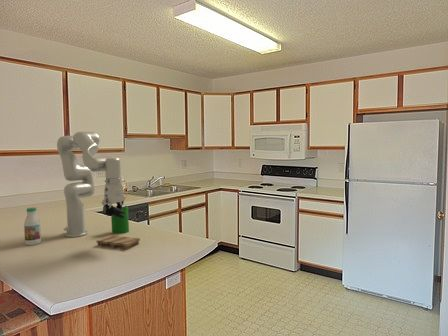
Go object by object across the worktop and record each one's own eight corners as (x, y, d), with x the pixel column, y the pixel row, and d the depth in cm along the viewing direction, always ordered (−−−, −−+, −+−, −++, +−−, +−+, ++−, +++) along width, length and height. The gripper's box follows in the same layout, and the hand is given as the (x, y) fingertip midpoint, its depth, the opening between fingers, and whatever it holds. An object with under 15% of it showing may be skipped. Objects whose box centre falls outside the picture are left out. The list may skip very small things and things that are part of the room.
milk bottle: (26, 242, 184) (24, 207, 182) (42, 240, 186) (40, 206, 185) (23, 246, 176) (21, 209, 175) (39, 244, 179) (38, 208, 178)
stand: (96, 245, 176) (96, 240, 175) (110, 240, 186) (110, 235, 186) (127, 249, 169) (127, 244, 168) (140, 243, 179) (139, 238, 179)
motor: (124, 229, 211) (123, 198, 209) (132, 231, 205) (131, 199, 204) (109, 232, 203) (108, 200, 201) (117, 234, 197) (116, 202, 196)
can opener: (99, 215, 176) (99, 204, 176) (111, 213, 182) (111, 203, 181) (118, 219, 165) (117, 209, 164) (129, 217, 170) (129, 207, 170)
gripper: (105, 183, 164) (106, 218, 165) (130, 179, 179) (131, 212, 180) (95, 182, 167) (96, 217, 168) (120, 179, 182) (121, 210, 184)
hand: (114, 214), depth 174 cm, fingers closed on can opener, 6 cm apart
